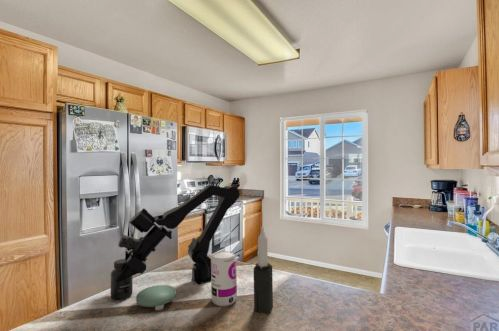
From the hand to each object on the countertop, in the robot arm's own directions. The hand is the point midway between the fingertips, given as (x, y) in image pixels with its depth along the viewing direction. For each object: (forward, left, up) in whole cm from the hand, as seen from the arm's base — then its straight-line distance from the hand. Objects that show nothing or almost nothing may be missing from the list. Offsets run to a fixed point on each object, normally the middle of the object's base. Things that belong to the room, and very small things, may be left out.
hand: (117, 277), depth 90 cm
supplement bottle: (-1, 0, -7) cm, 7 cm away
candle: (-37, +33, -7) cm, 50 cm away
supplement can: (-29, +22, -7) cm, 37 cm away
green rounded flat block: (-10, +11, -7) cm, 17 cm away
